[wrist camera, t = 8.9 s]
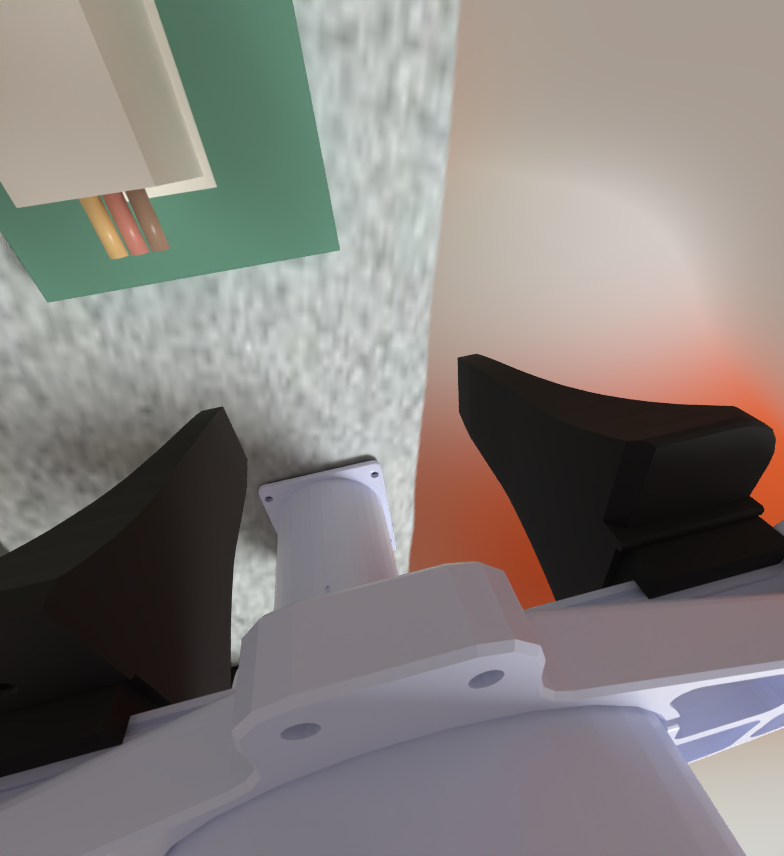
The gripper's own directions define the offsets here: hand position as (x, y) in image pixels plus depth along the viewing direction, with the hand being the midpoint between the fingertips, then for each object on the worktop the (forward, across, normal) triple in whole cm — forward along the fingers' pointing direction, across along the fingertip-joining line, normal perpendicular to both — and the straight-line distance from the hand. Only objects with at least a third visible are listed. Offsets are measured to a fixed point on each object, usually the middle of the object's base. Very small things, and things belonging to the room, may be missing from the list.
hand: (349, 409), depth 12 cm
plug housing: (+8, +5, -9) cm, 13 cm away
